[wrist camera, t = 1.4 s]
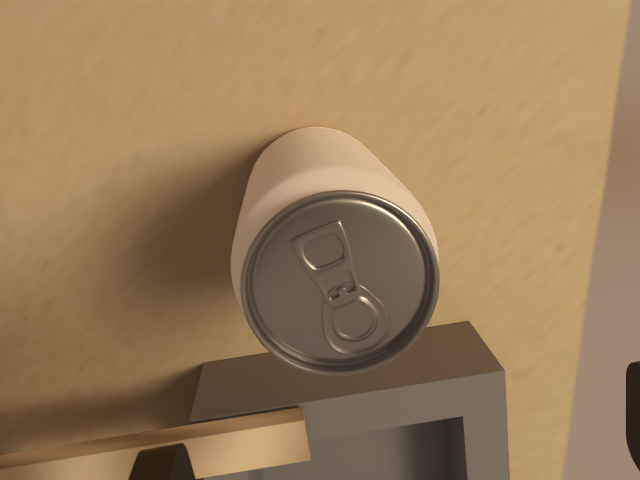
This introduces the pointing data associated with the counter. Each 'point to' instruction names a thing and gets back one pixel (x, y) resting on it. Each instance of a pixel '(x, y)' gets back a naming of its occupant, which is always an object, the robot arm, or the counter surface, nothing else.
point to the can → (332, 256)
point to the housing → (377, 412)
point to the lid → (200, 440)
